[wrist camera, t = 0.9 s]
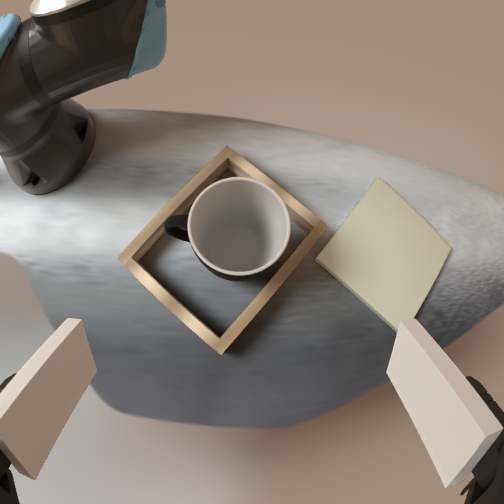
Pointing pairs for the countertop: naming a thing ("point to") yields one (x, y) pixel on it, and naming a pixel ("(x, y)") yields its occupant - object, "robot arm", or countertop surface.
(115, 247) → the countertop surface
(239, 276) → the mug
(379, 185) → the tile
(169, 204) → the rectangular wooden frame
